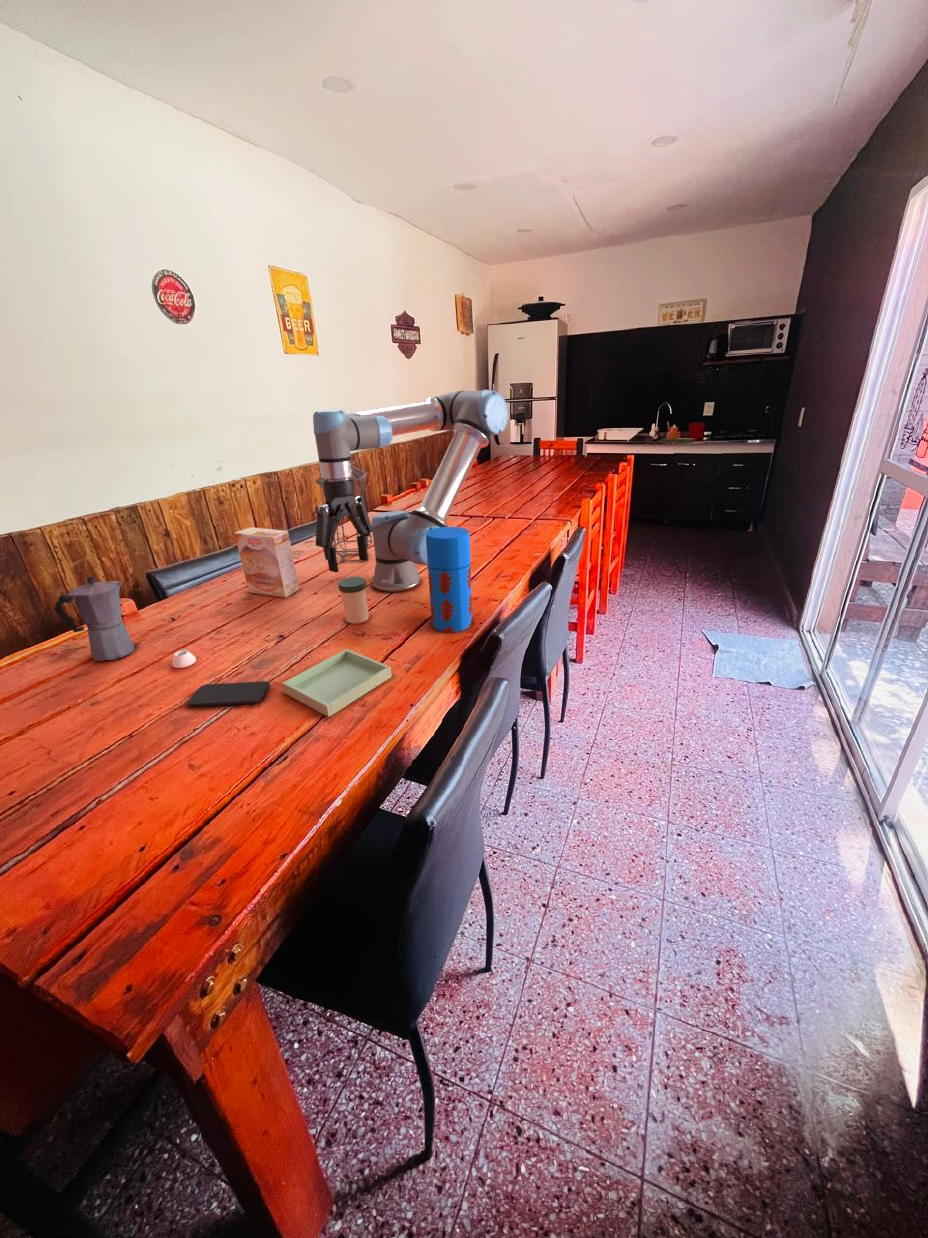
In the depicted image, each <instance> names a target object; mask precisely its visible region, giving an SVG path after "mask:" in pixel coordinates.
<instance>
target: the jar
mask: <svg viewBox="0 0 928 1238" xmlns="http://www.w3.org/2000/svg"><path fill="white" fill-rule="evenodd" d="M340 593H341V599H342V605H343V612H344V619H345V621H346V622H347V623H348V624H362V623H364V622H366V621H368V620H369V618H370V615H369V607H368V598H367V591H366V589H364V590H362V591H360V592H355V593H344V592H341V591H340Z"/></svg>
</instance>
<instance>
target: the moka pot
mask: <svg viewBox="0 0 928 1238" xmlns="http://www.w3.org/2000/svg"><path fill="white" fill-rule="evenodd" d="M86 580H87V582H88V583H87V584H82V585H79V586H78V587H75V588H73V589H71V590H69V593H67V594H61V595H59V596H58V598H57V601H56V604H55V606H54V608H53V610H54V611H55V613H56V614H57V615H59V616H60V618H61V619H62V620H63V621H64V623H65V624H66V625H67V626H68V627H69V628H70V629H71V631H73V632H74V633H80V632H83V631H85V626H86V628H87V635H88V641H89V647H90V656H91V657H92V659H93V660H94V661H97V662H105V661H112V660H118V659H121V658H124V657H125V656H128V655H130V654H132V653H133V652H134V650H135V644H134V643H133V641H132V638H131V636H130V634H129V632H128V630H127V627H126V623H125V622H123V618H122V615H123V612H122V611H123V610H122V606H121V598H120V589H121V586H122V584H123V582H122V581H118V580H110V581H109V580H108V581H97V582H96V577H95V576H90V577H86ZM65 603H66V604H67V603H68V604H71V603H74V604H75V605H76V607H77V610H78V612H79V614H80V615H81V618H82V620H83V621H84V623H85V626H83V625H82V626H79V627H78V626H77V625H76V624H74V622H73V621H72V619H71V618H70V616H69V615H68V614H67V612H66V611H65V609H63V608H62V607H63V604H65Z"/></svg>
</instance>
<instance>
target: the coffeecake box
mask: <svg viewBox="0 0 928 1238" xmlns="http://www.w3.org/2000/svg"><path fill="white" fill-rule="evenodd" d="M233 534H234V537H235V541H236V545H237V549H238V554H239V556H240V562H241V567H242V570H243V575H244V578H245V582H246V586H247V591H248V593H251V594H258V595H259V594H260V595H267V596H274V597H279V598H284V599H285V598H287V597H289V596H292V594H294V593H296V592H299V591H300V586H299V579H298V575H297V570H296V565H295V560H294V553H293V550H292V544H291V539H290V534H289V530H282V529H271V528H262V527H261V528H260V527H252V526H251V527H247V528H244V529H242V530H241V529H240V530H237V531H235V532H234V533H233Z"/></svg>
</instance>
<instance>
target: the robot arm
mask: <svg viewBox="0 0 928 1238" xmlns="http://www.w3.org/2000/svg"><path fill="white" fill-rule="evenodd" d="M508 421H509V412H508V405H507V402H506V400H505V397H504V396H503V395H502V394H501V393H500V392H498V391H495V390H489V389H483V390H456V391H452V392H448V393H445V394H441V395H437V396H430V397H428V398H426V399H425V400H424V401H423V402H416V403H409V404H404V405H397V406H391V407H390V406H389V407H385V408H377V409H372V410H365V411H357V412H355V413H352V412H351V413H346V412H345V410H343V409H324V410H323V409H321V410H316V411H314V413H313V414H312V424H313V434H314V437H315V444H316V450H317V456H318V457H317V458H318V465H319V470H320V477H322V478H323V479H324V480H323V482H322V485H323V487H322V491H323V495H324V497H325V503H324V504H322V505H316V506H315V512H316V529H315V546H316V547H319V548H322V549H323V553H324V559H325V560H326V561H327V564H328V570H329V572H332V573H339V566H338V559H337V554H336V553H337V552H336V551H335V547H334V546H333V545H334V536H335V537H336V534H337V525H338V526H339V522H340V523H341V518H342V519H344V518H345V517H347V518H348V519H349V521H350V523H351V524H352V526H353V528H354V529H355V530H357V532H358V534H359V536H357V535H356V540H357V542H356V544H357V548H358V549H357V551H358V552H357V553H359V554H358V555H359V556H358V558H359V559H358V560H363V561H362V562H368V561H369V554H368V549H367V547H368V545H369V541H368V540H369V538H370V532H371V534H372V542H373V548H374V556H375V567H374V571H373V572H374V573H373V575H372V587H373V588H374V589H375V590H377V591H380V592H384V593H399V592H400V593H401V592H407V591H410V590H413V589H414V588H416V587H418V586H419V585H420V584H421V576H420V573H419V571H418V568H417V566H416V565H421V566H425V567H426V566H427V567H428V562H427V547H426V533H427V532H428V531H429V530H432V529H435V528H440V527H449V525H448V522H447V520H448V518H449V516H450V514H451V512H452V510H453V508H454V505H455V503H456V502H457V500H458V497H459V495H460V493H461V491H462V488H463V487H464V485H465V482H466V480H467V478H468V476H469V474H470V472H471V470H472V468H473V466H474V464H475V461H476V459H477V457H478V455H479V453H480V450H481V449H483V448H486V447H488V445H489V444H490V442H491V440H492V437H493V436H496V435H499V434H501V433H503V432H504V431H505V429H506V427H507V424H508ZM425 430H426V431H427V430H429V431H431V432H433V433H434V432H435V433H436V432H440V431H447V432H453V437H452V438H451V441H450V443H449V445H448V448H447V450H446V452H445V454H444V456H443V458H442V460H441V462H440V464H439V467H438V468H437V470H436V473H435V474H434V477H433V479H432V481H431V483H430V485H429V487H428V490H427V491H426V493H425V496H424V497H423V500H422V502H421V504H420V506H419V507H418V508H414V509H412V510H411V513H409V511H407V510H392V511H386V512H381V513H377V514H374V516H372V517H371V520H370V517H369V514H368V511H367V507H366V502H365V499H366V498H365V496H364V497H360V495H359V496H358V495H355V493H356V488H355V487H354V485H355V482H354V481H353V478H352V476H353V472H352V469H353V468H352V466H353V465H352V458H351V452H356V451H361V450H362V451H363V450H364V451H365V450H373V449H378V450H379V449H380V448H385V447H388V446H389V445H390V444H391V443H392V440H393V437H395V436H400V435H406V434H411V433H417V432H421V431H425ZM322 478H321V479H322ZM354 496H355V497H354ZM328 510H329V513H328ZM357 532H356V533H357ZM367 537H368V539H367Z"/></svg>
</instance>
